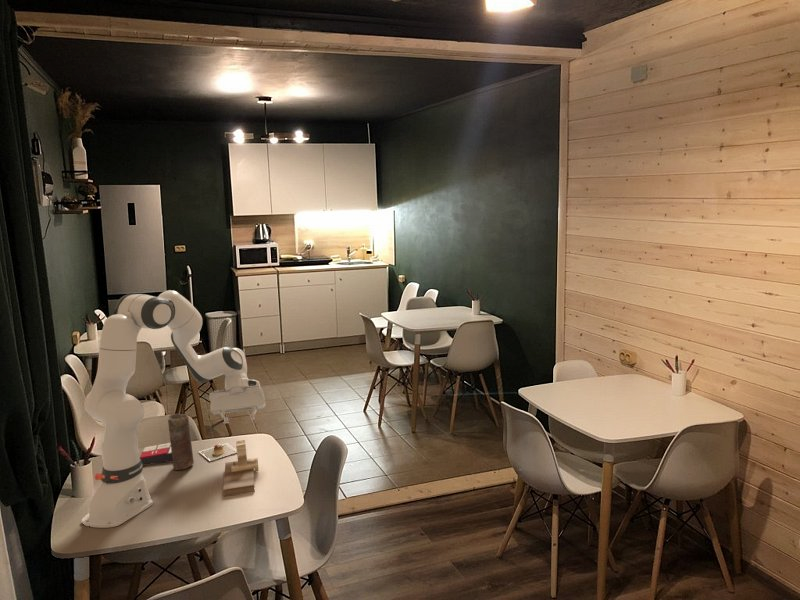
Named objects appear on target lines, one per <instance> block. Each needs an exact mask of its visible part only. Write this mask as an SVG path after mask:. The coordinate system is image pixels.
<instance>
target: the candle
mask: <svg viewBox="0 0 800 600" xmlns="http://www.w3.org/2000/svg"><path fill="white" fill-rule="evenodd" d="M167 423H168V431H169V440H170V442H169V443H171V452H172V460H173V461H172V466H173V467H172V469H173V470H174V471H178V470H186V469H187V468H189V467H191V466H192V465H193V464H194V463H195V461H194V454H193V445H192V444H193V443H192V438H191V437H192V436H191V429H190V420H189V416H188V414H185V413H173V414H170V415H169V416H168V417H167Z"/></svg>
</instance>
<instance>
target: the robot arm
mask: <svg viewBox="0 0 800 600" xmlns="http://www.w3.org/2000/svg"><path fill="white" fill-rule="evenodd" d="M167 326H168V328H169V329H170V330H171V333H170V340H171V342H172V345H173V347H174V348H175V350H176V352H177V353H178V355H179V356H180V357H181V359H182V360H183V362H184V363H185V364H186V366H187V368H188V370H189V371H190V374H191V376H192V377H193V379H194V380H196V381H197V382H200V383H207V382H209V381H211V380H213V379H215V378H218V377H220V376H223V375H224V376H225V378H224V389H219V390H218V389H217V390H213V391H212V392H210V393H209V395H208V398H209V401H210V413H211V414H212V415H220V417H221V418H222V419H223V422H224V424H229V423H230V422H229V416H225V415H226V414H227V413H236V412H244V411H252V412H251V413H249V418H250V420H252V421H253V420H255V415H256V413H257V412H258V411H257V409H264V408H265V407H266V397H265V394H264V389H262V387H261V383H260V381H259V380H256V379H249V378H248V364H247V359H246V354H245V353H244V351H243V349H240V348H238V347H229V346H223V347H220V348H218V349H215V350H213V351H210V352H209V353H205V354H201V355H199V354H198V353H197V352H196V351H195V349H194V348H193V346H192V344H191V341H193V340H194V339H195V338H196V337H197V336H198V334H200V332H201V329H202V326H203V317H202V314H201V313H200V312H199V311H198V309H197V308H196V307H195V306H194V305H193V303H191V302H190V300H188V299H187V298H186V297H185V296H183V295H182V294H180V293H179V292H178V291H176V290H174V289H173V290H171V289H169V290H164V291H163V292H161V293H160V294H159V295H158V296H155V295H154V296H153V295H150V294H145V293H128V294H125V295H123V296H122V297H119V299H118V301H117V302H116V304H115V307H114V311H113V313H112V315H110V316H108V317H107V318H106V319H105V321H104V323H103V327H102V330H101V335H100V340H99V350H98V360H97V361H98V362H97V371H96V376H95V379H94V381H93V385H92V388H91V390H90V391H89V393H87V395H86V397H85V398H84V403H83V404H84V405H83V406H84V409H85V412H86V413H87V414H88V415H89V416H90V417H91V418H93V419H94V420H95V421H98V422H101V423H102V425H103V426H104V435H103V436H104V437H103V440H102V441H101V443H100V453H101V459H102V464H103V466H102V470H101V473H95V474H94V480H95V481H101V482H100V483H99V485H98V486H97V488H96V490H95V492H94V493H93V495H92V496H91V498H90V499H89V501H88V513H87V514H86V515H85V516H83V517H82V518H81V524H82V523H83V524H84V526H86V527H89V526H90V527H91V528H101V529H106V528H114V527H117V526H118V527H119V526H120V525H122V524H123V523H125V522H127V521H128V520H131V519H132V518H133V517H135V516H137V515H138V514H140V513H142V512H143V511H145V510H147V509H148V508H150V507H151V506H153V505H154V502H153V500H152V497H151V495H150V492H149V489H148V484H147V481H146V479H145V477H144V474H143V465H142V461H141V459H140V452H139V443H138V442H139V441H138V430H139V426H140V425H139V424H141V422H142V421H143V419H144V416H145V407H144V404H142V402H141V401H139V399H138V398H136V397H135V396H133V395H131V394H129V393H126V391H127V387H128V384H129V380H130V379H131V377H132V376H134V374H135V372H136V364H137V363H136V362H137V361H136V360H137V349H138V347H137V346H138V335H139V333H140V332H141V329H151V330H159V329H162V328H163V329H164V328H165V327H167ZM83 524H82V525H83Z"/></svg>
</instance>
